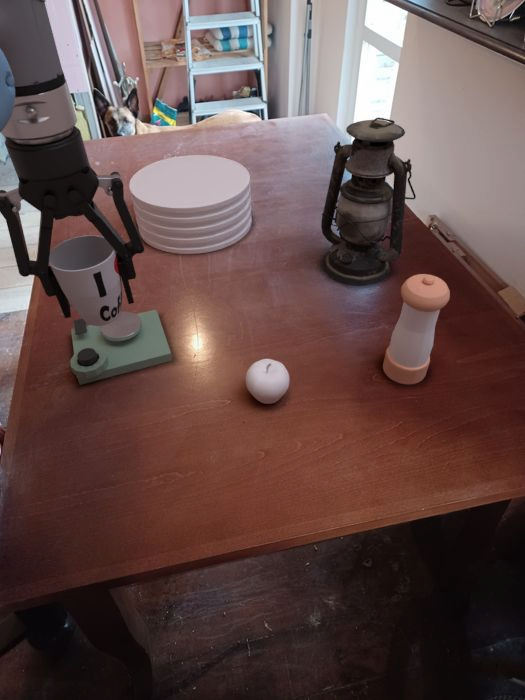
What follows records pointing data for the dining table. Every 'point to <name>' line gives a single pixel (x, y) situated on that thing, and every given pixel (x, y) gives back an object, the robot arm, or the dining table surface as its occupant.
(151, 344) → the scale
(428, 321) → the salt shaker
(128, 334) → the pan
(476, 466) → the dining table surface
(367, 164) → the lantern
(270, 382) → the plain white apple
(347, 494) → the dining table surface
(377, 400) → the dining table surface
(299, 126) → the dining table surface
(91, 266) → the cup
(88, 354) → the button
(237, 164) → the plate stack
